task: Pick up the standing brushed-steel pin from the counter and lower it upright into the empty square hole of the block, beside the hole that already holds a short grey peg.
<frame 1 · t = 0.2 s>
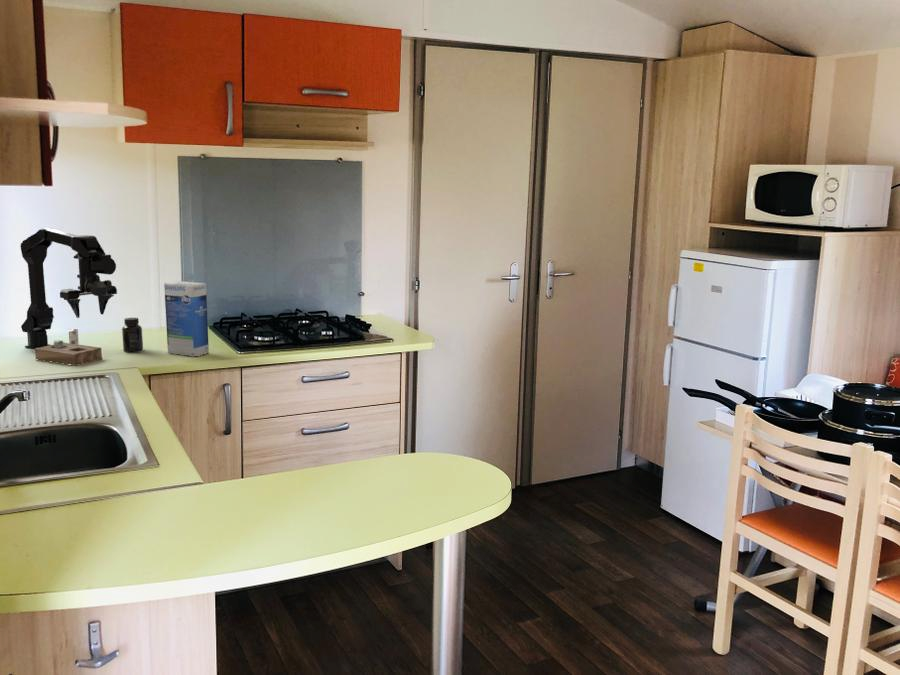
hand: (90, 316, 304), 14 cm above the countertop, tool pointing down, fingers open, 9 cm apart
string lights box: (188, 354, 313), on the countertop
steel pin: (74, 351, 312), on the countertop
hole block: (69, 359, 300), on the countertop
supplement bottle: (133, 351, 315), on the countertop
short grey peg: (59, 358, 301), resting in hole block
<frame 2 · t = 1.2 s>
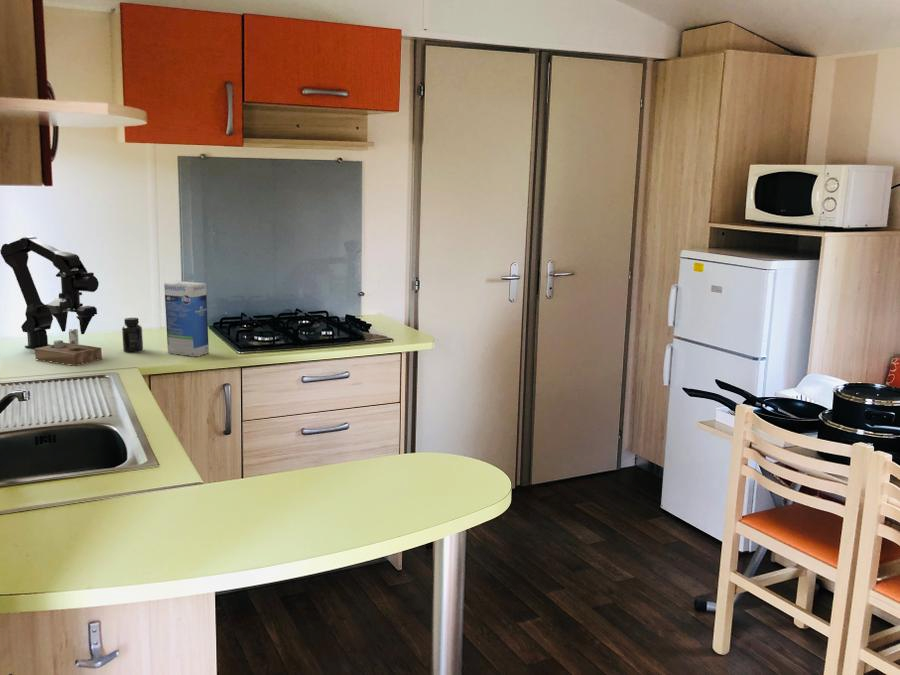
hand: (73, 332, 310), 7 cm above the countertop, tool pointing down, fingers open, 9 cm apart
nothing on the countertop moved.
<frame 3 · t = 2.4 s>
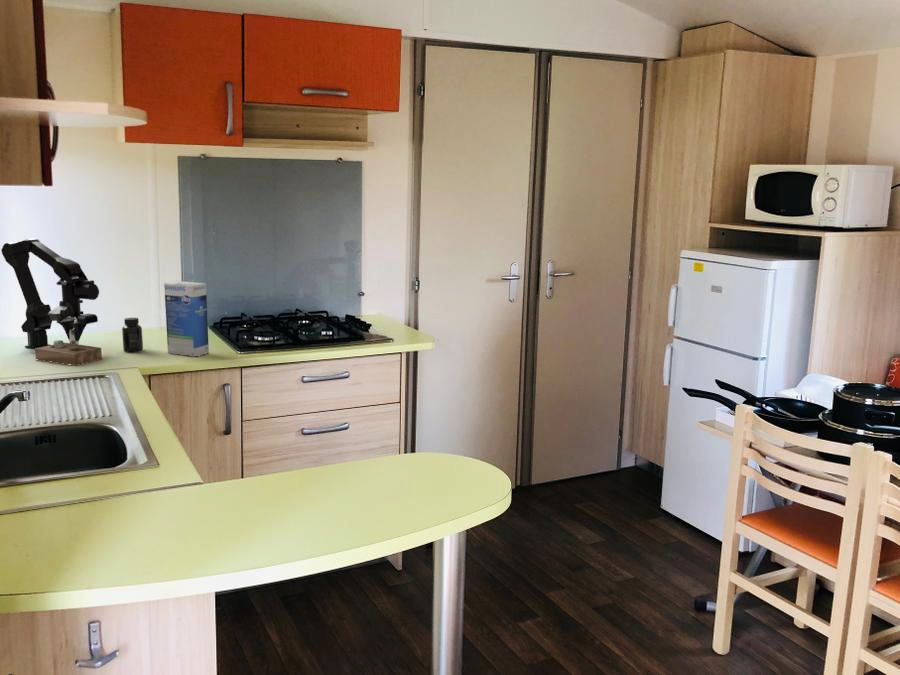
hand: (73, 340, 311), 4 cm above the countertop, tool pointing down, fingers closed on steel pin, 3 cm apart
steel pin: (74, 351, 312), on the countertop, touching gripper
everything else where it was.
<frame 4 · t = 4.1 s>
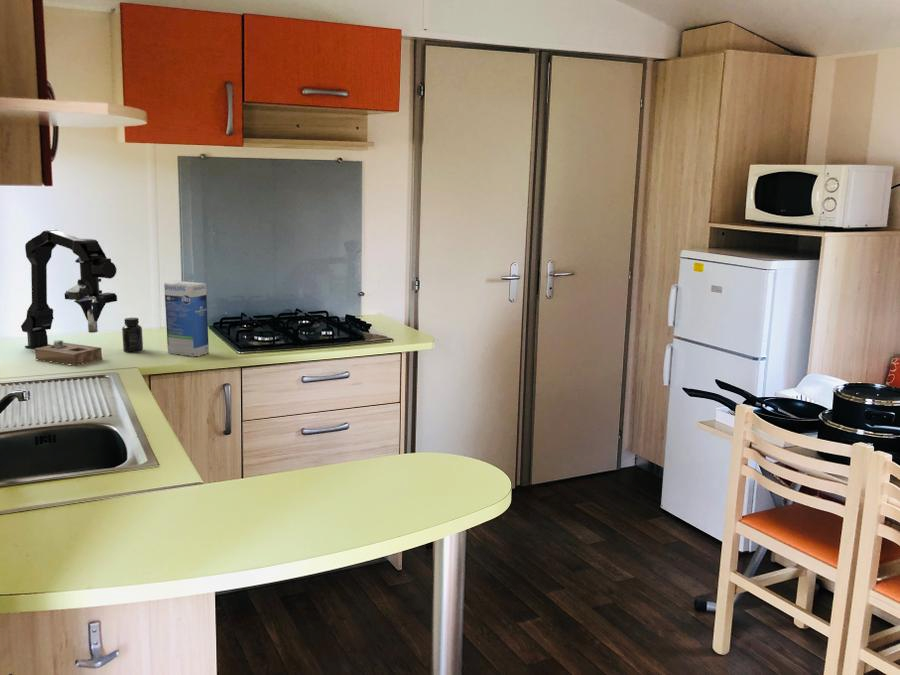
hand: (92, 320, 301), 13 cm above the countertop, tool pointing down, fingers closed on steel pin, 3 cm apart
steel pin: (93, 331, 302), point 9 cm above the countertop, touching gripper
everything else where it was.
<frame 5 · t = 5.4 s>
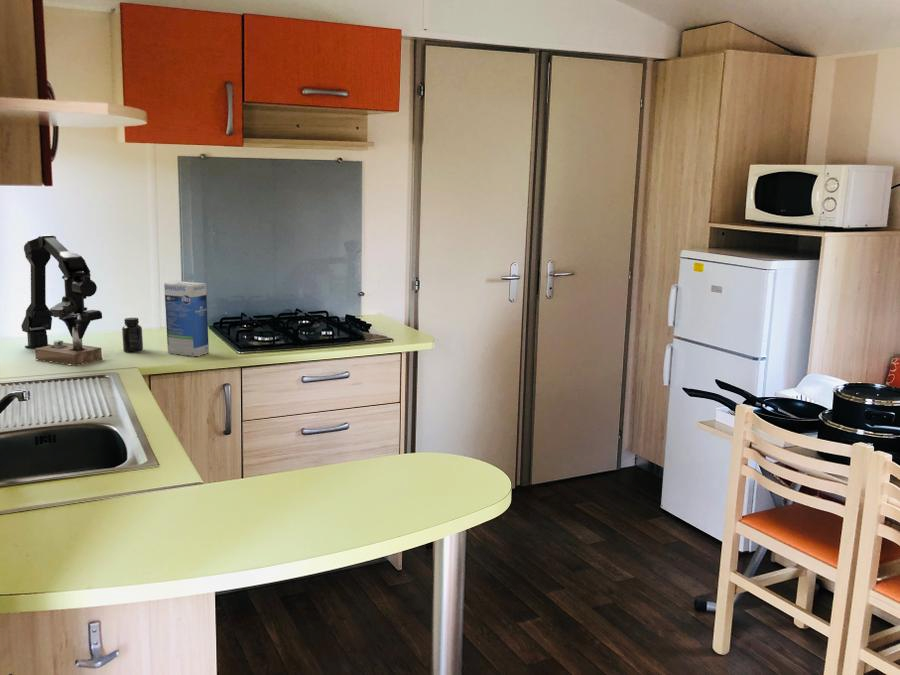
hand: (77, 338, 296), 8 cm above the countertop, tool pointing down, fingers closed on steel pin, 3 cm apart
steel pin: (77, 349, 297), point 4 cm above the countertop, touching gripper
everything else where it was.
when the fingers open (6 cm above the countertop, at t = 6.0 s): steel pin drops 2 cm, resting in hole block.
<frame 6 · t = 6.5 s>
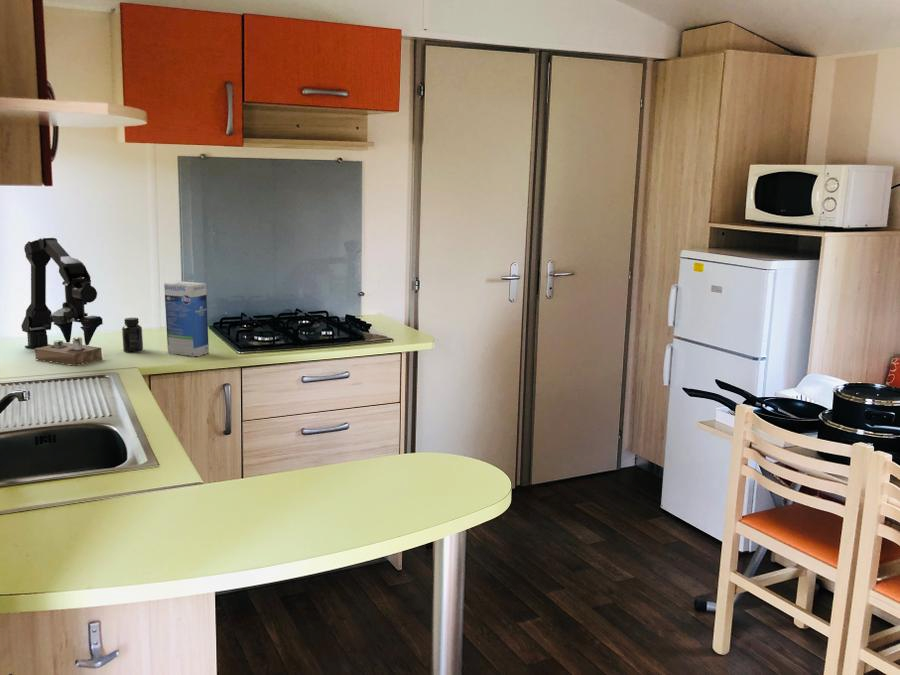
hand: (77, 343, 297), 6 cm above the countertop, tool pointing down, fingers open, 8 cm apart
steel pin: (78, 360, 298), resting in hole block
everything else where it was.
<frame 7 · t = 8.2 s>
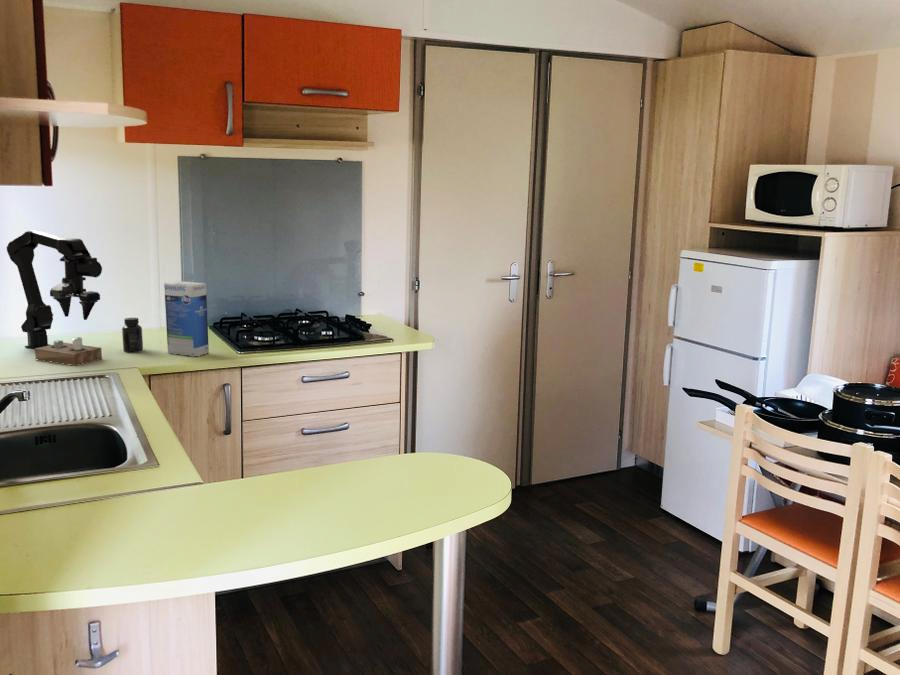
hand: (76, 318, 308), 13 cm above the countertop, tool pointing down, fingers open, 9 cm apart
nothing on the countertop moved.
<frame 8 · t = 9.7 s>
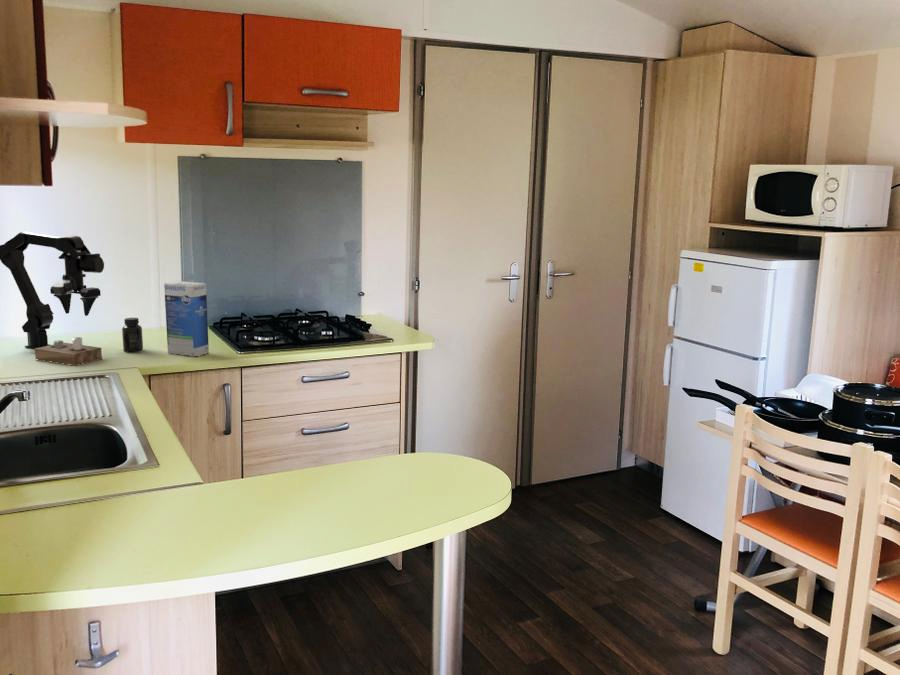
hand: (76, 314, 312), 13 cm above the countertop, tool pointing down, fingers open, 9 cm apart
nothing on the countertop moved.
at the end: steel pin 0.1 cm from the target spot on the hole block, point 0.0 cm above the hole block's base; steel pin tilted 0°; the gripper is holding nothing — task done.
